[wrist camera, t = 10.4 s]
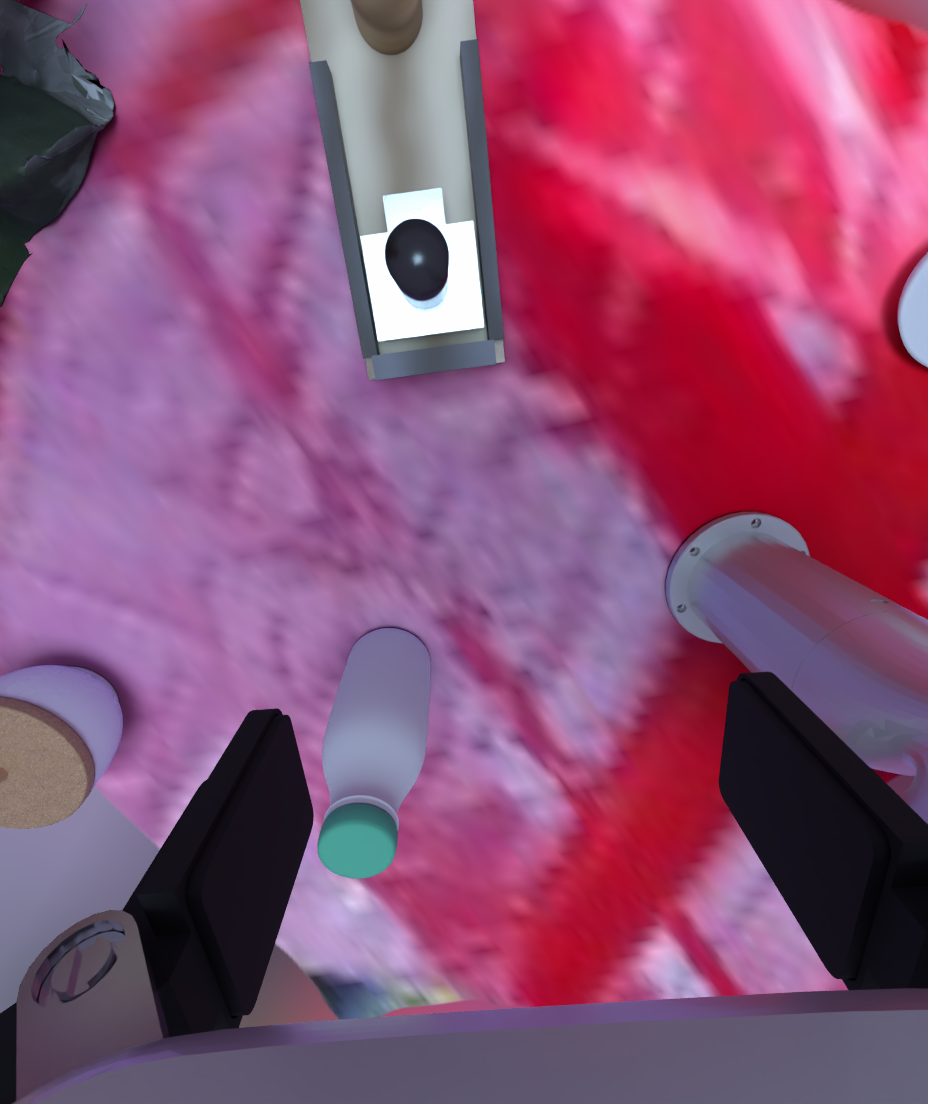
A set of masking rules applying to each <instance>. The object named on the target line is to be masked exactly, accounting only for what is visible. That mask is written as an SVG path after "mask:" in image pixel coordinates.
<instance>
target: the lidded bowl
mask: <svg viewBox="0 0 928 1104" xmlns="http://www.w3.org/2000/svg"><path fill="white" fill-rule="evenodd" d="M122 731H123V715H122V711H121V707H120V704H119V699H118V696H117V693H116V691H115V690H114V688H113V687H112V685H111V684H110V683H109V682H108V681H107V680H106V679H105V678H103V677H102V676H100V675H99V674H97V673H95V672H93V671H91V670H88V669H85V668H81V667H75V666H61V665H40V666H31V667H27V668H23V669H19V670H16V671H12V672H9V673H7V674H5V675H2V676H0V826H1V827H7V828H19V829H22V828H23V829H30V828H37V827H43V826H48V825H52V824H54V823H57V822H59V821H61V820H64V819H65V818H67V817H69V816H70V815H72V814H73V813H74V812H75V811H76V810H77V809H78V808H79V807H80V806H81V805H82V803H83V802H84V801H85V799H86V798H87V797H88V795H89V794H90V792H91V790H92V788H93V787H94V786H95V785H96V783H97V782H98V781H99V779H100V778H101V777H102V775H103V774H104V772H105V771H106V770H107V768H108V766H109V765H110V763H111V761H112V760H113V758H114V755H115V753H116V751H117V749H118V746H119V744H120V740H121V736H122Z"/></svg>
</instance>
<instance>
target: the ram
mask: <svg viewBox="0 0 928 1104" xmlns="http://www.w3.org/2000/svg"><path fill="white" fill-rule="evenodd" d="M383 202H384V209H385V215H386V222H387V228H388V232H387V233H379V234H372V235H364V236H360V238H361V244H362V249H363V255H364V261H365V267H366V273H367V279H368V284H369V290H370V296H371V302H372V308H373V314H374V320H375V325H376V331H377V337H378V341H379V342H391V341H398V340H406V339H413V338H421V337H428V336H436V335H443V334H451V333H458V332H466V331H473V330H481V329H482V328H484V322H483V312H482V302H481V292H480V282H479V272H478V262H477V252H476V242H475V232H474V222H473V221H468V222H460V223H453V224H446V223H445V215H444V206H443V198H442V189H441V188H437V189H429V190H422V191H414V192H407V193H400V194H392V195H385V196H383Z"/></svg>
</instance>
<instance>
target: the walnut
mask: <svg viewBox="0 0 928 1104" xmlns="http://www.w3.org/2000/svg"><path fill="white" fill-rule="evenodd" d="M351 4H352V8H353V12H354V16H355V20H356V23H357V27H358V29H359V31H360V33H361V35H362V37H363V38H364V40H365V41H366V42H367V43H368V45H370V46H371V47H372V48H373V49H375V50H376V51H378V52H380V53H383V54H388V55H394V54H399V53H401V52H403V51H405V50H407V49H408V48H409V47H410V46H411V45H412V44H413V43H414V41H415V40H416V38H417V36H418V34H419V32H420V29H421V25H422V19H423V7H422V0H351Z"/></svg>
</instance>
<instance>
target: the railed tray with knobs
mask: <svg viewBox="0 0 928 1104" xmlns="http://www.w3.org/2000/svg"><path fill="white" fill-rule="evenodd" d="M300 3H301V9H302V14H303V20H304V25H305V31H306V36H307V42H308V47H309V53H310V58H311V62H309V65H310V71H311V76H312V82H313V87H314V93H315V98H316V104H317V109H318V115H319V120H320V126H321V131H322V136H323V142H324V147H325V153H326V158H327V164H328V169H329V175H330V180H331V186H332V191H333V196H334V202H335V207H336V213H337V218H338V224H339V229H340V235H341V240H342V246H343V251H344V257H345V262H346V267H347V273H348V278H349V284H350V289H351V295H352V300H353V306H354V311H355V317H356V322H357V327H358V333H359V338H360V344H361V349H362V355H363V358H365V361H366V366H367V372H368V377H369V380H372V379H375V380H381V379H389V378H396V377H404V376H411V375H419V374H426V373H434V372H441V371H449V370H456V369H464V368H472V367H479V366H487V365H494V364H496V363H500V362H505V359H504V347H503V339H504V334H503V323H502V311H501V300H500V289H499V277H498V266H497V254H496V243H495V231H494V220H493V209H492V197H491V186H490V174H489V163H488V151H487V140H486V129H485V117H484V106H483V94H482V83H481V71H480V60H479V49H478V39H476V30H475V19H474V7H473V0H422V7H423V19H422V25H421V29H420V32H419V34H418V36H417V38H416V40H415V41H414V43H413V44H412V45H411V46H410V47H409V48H408V49H407V50H405V51H403V52H401V53H399V54H394V55H388V54H383V53H380V52H378V51H376V50H375V49H373V48H372V47H371V46H370V45H368V43H367V42H366V41H365V40H364V38H363V37H362V35H361V33H360V31H359V29H358V27H357V23H356V20H355V16H354V12H353V8H352V4H351V0H300ZM437 188H441V189H442V198H443V206H444V215H445V223H446V224H453V223H460V222H468V221H473V222H474V232H475V242H476V252H477V262H478V272H479V282H480V292H481V302H482V312H483V322H484V328H482V329H481V330H473V331H466V332H458V333H451V334H443V335H436V336H428V337H421V338H413V339H406V340H398V341H391V342H379V341H378V337H377V331H376V325H375V320H374V314H373V308H372V302H371V296H370V290H369V284H368V279H367V273H366V267H365V261H364V255H363V249H362V244H361V238H360V236H364V235H372V234H379V233H387V232H388V228H387V222H386V215H385V209H384V202H383V196H385V195H392V194H400V193H407V192H414V191H422V190H429V189H437Z"/></svg>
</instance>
